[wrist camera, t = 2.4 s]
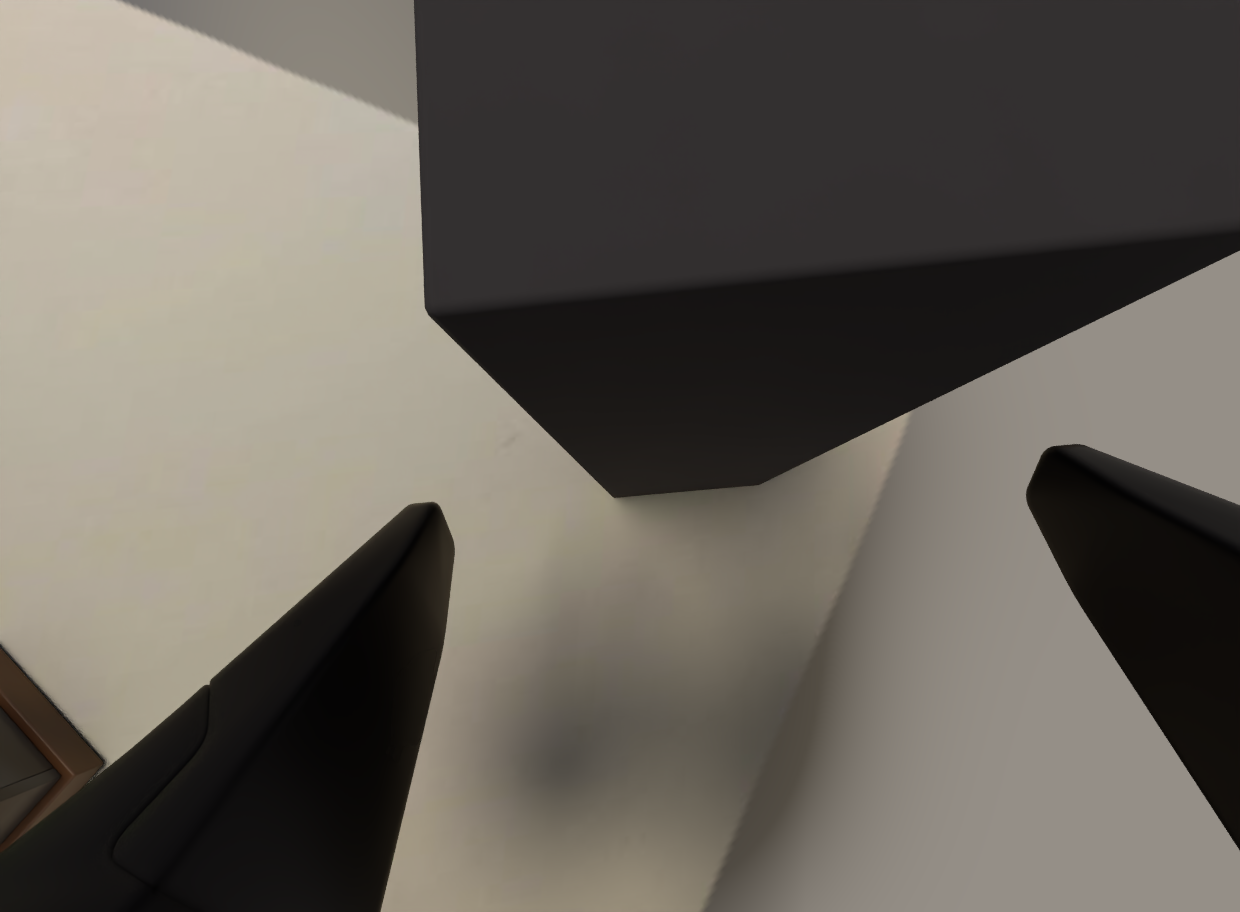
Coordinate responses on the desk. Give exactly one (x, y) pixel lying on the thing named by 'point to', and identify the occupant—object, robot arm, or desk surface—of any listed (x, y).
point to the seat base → (35, 755)
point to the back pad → (803, 205)
